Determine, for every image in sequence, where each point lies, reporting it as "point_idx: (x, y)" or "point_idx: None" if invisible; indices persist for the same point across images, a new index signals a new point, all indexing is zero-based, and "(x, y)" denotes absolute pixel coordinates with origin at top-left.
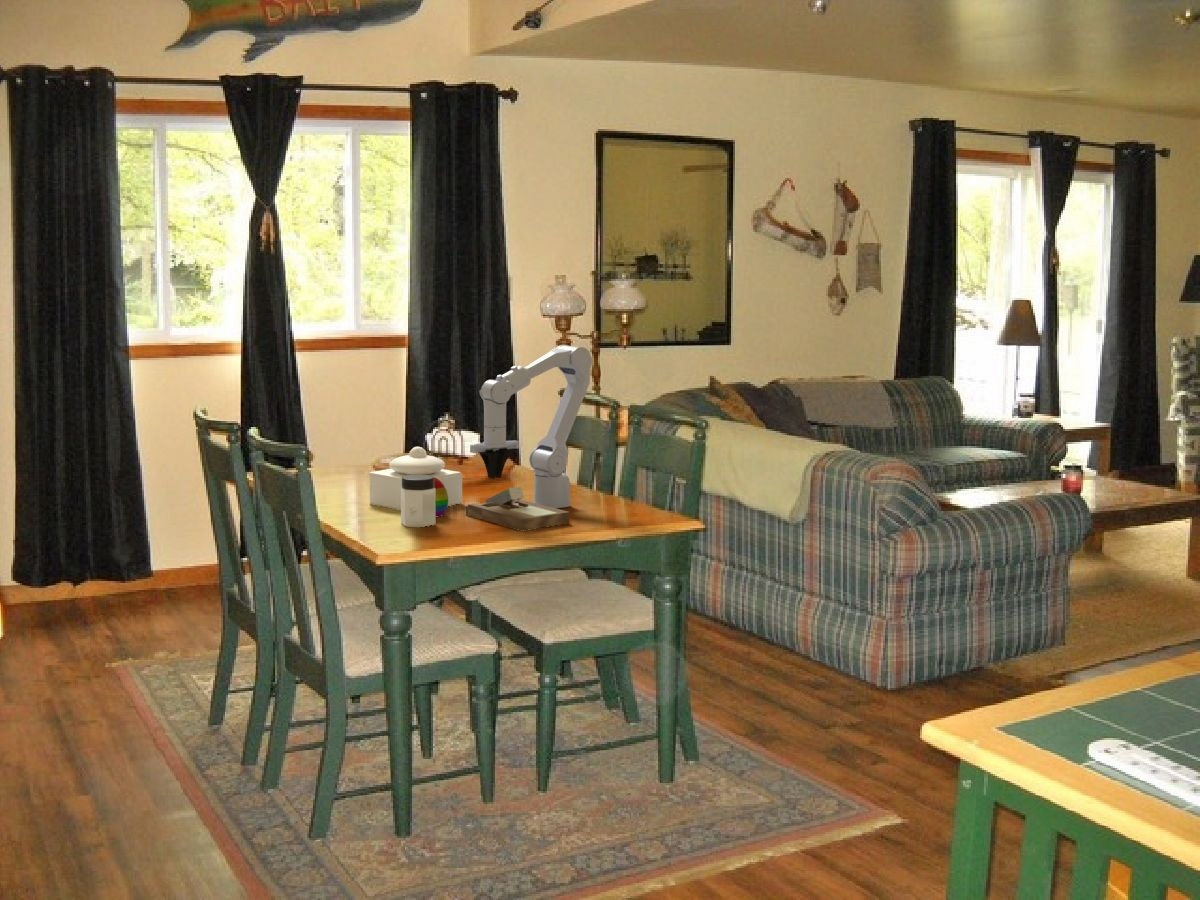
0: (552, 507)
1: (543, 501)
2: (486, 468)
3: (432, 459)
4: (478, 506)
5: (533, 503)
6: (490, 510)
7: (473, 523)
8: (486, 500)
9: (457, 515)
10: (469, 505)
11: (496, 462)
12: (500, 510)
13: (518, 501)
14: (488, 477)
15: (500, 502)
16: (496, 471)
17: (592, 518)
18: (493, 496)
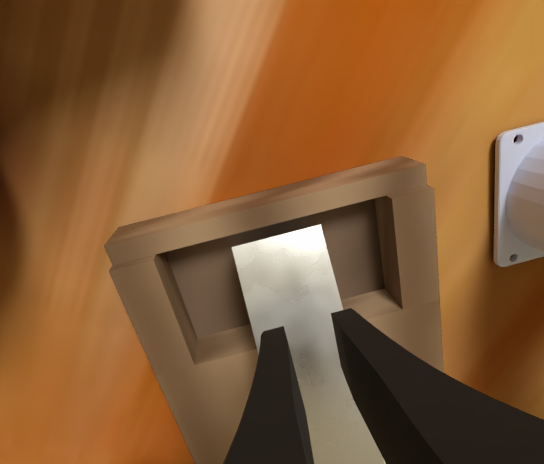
0: (540, 255)
1: (536, 246)
2: (252, 396)
3: None
4: (150, 338)
5: (433, 345)
6: (178, 426)
7: (107, 387)
8: (234, 256)
9: (73, 218)
10: (115, 281)
11: (402, 449)
12: (222, 436)
13: (399, 284)
14: (261, 338)
15: None
16: (354, 372)
17: (538, 415)
18: (253, 333)
